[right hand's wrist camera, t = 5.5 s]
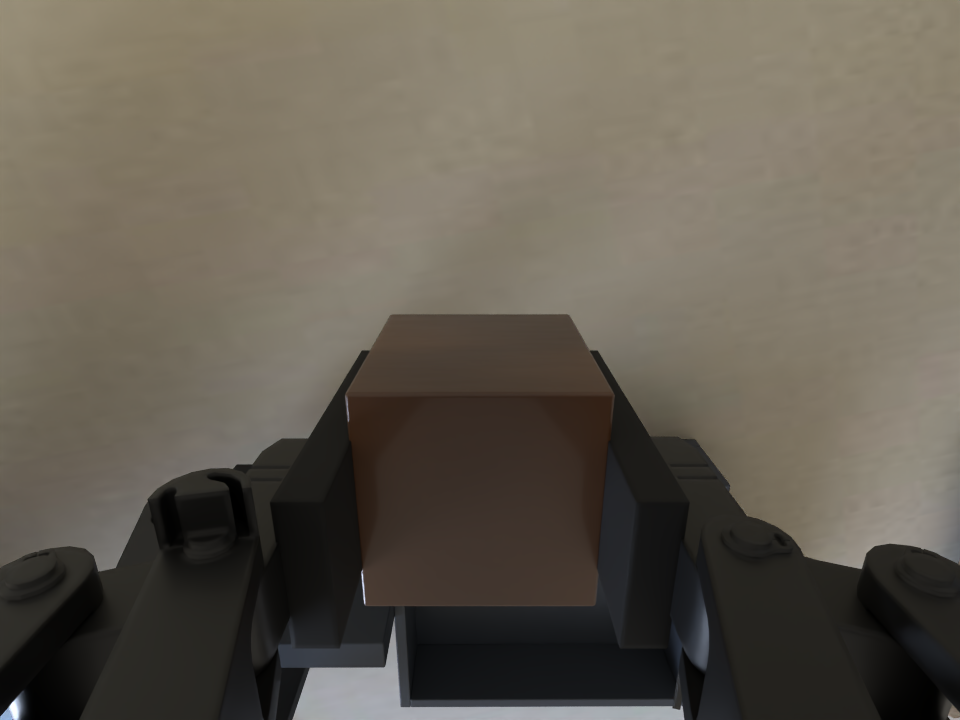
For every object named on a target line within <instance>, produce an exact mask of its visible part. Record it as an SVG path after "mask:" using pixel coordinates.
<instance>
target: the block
mask: <svg viewBox="0 0 960 720" xmlns="http://www.w3.org/2000/svg"><path fill="white" fill-rule="evenodd" d="M614 397H615V395H614V393H613V391H612V389H611V387H610V386H609V384H608V382H607V380H606V379H605V377H604V375H603V373H602V372H601V370H600V368H599V366H598V365H597V363H596V361H595V359H594V358H593V356H592V354H591V352H590V351H589V349H588V347H587V345H586V344H585V342H584V340H583V338H582V337H581V335H580V333H579V331H578V330H577V328H576V326H575V324H574V323H573V321H572V319H571V317H570V315H390V317H389V319H388V320H387V322H386V324H385V326H384V327H383V329H382V331H381V333H380V334H379V336H378V338H377V340H376V341H375V343H374V345H373V347H372V348H371V350H370V352H369V354H368V355H367V357H366V359H365V361H364V362H363V364H362V366H361V368H360V369H359V371H358V373H357V374H356V376H355V378H354V380H353V381H352V383H351V385H350V387H349V388H348V390H347V392H346V394H345V402H346V413H347V424H348V435H349V441H351V447H352V458H353V469H354V480H355V492H356V503H357V514H358V525H359V536H360V547H361V559H362V572H361V578H362V589H363V600H364V604H365V606H594V605H595V604H596V597H597V586H598V570H597V565H598V554H599V543H600V532H601V520H602V509H603V498H604V487H605V476H606V464H607V453H608V442H609V441H610V440H611V430H612V419H613V408H614Z"/></svg>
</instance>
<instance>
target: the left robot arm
mask: <svg viewBox="0 0 960 720" xmlns="http://www.w3.org/2000/svg"><path fill="white" fill-rule="evenodd" d="M251 468H252V465H236V466H235V468H234V469H233V470H237V471H242V472H243V473H244V474H246V473H247V472H248V470H249V469H251ZM159 550H160V549H159V545H158V541H157V536H156V532H155V528H154V524H153V520H152V516H151V512H150V507H149V503H148V502H147V504H146V505H145V507H144V509H143V511H142V513H141V515H140V518H139V520H138V522H137V524H136V526H135V528H134V530H133V532H132V535H131V537H130V539H129V541H128V543H127V545H126V547H125V549H124V552H123V554H122V556H121V558H120V560H119V562H118V564H117V567H116V568H120V567H124V566H129V565H134V564H139V563H143V562H147V561H150V560H154V559H155V558H156V556H157V554H158V552H159ZM281 671H282V672H281V680H280V688H279V696H278V705H277V713H276V720H292V719H293V716H294V713H295V710H296V707H297V704H298V701H299V698H300V695H301V692H302V689H303V686H304V683H305V680H306V677H307V674H308V671H309V668H281Z"/></svg>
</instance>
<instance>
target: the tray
mask: <svg viewBox="0 0 960 720" xmlns="http://www.w3.org/2000/svg"><path fill="white" fill-rule="evenodd" d="M684 441H685V442H687V443H688V444H690V445H691V446H693V447H694V448H696V449H697V450H698V451H699V452H700V454H701V455H702V456H703V458H704V459H705V460H706V462H707V463H708V467H711V468H712V470H713V471H714V472H715V474H716V475H717V479H720V480H721V482H722V483H723V484H724V486H725V487H726V489H727V490H728V491H729V489H730V484H729V483H728V482H727V480H726V479H725V478H724V477H723V475H722V474H721V473H720V471H719V470H718V469H717V468H716V466H715V465H714V464H713V462H712V461H711V460H710V458H709V457H708V456H707V455H706V453H705V452H704V451H703V449H702V448H701V447H700V445H699V444H698V443H697V441H696V440H684ZM394 616H395V631H396V646H397V661H398V676H399V690H400V705H401V707H410V706H411V707H541V706H673V700H674V693H675V687H676V681H677V675H678V669H679V663H680V656H681V650H682V643H681V641H680V639H679V636H678V634H677V631H676V629H675V627H674V624H673V622H671V629H670V636H669V642H668V649H620V648H619V644H618V641H617V637H616V634H615V630H614V627H613V623H612V620H611V616H610V612H609V609H608V605H607V602H606V598H605V595H604V591H603V588H602V584H601V581H600V577H599V574H598V586H597V597H596V604H595V605H594V606H365V604H364V600H363V589H362V578H361V576H360V579H359V583H358V586H357V590H356V593H355V597H354V600H353V604H352V607H351V611H350V614H349V618H348V621H347V625H346V629H345V632H344V636H343V639H342V643H341V646H340V649H292V645H291V638H290V632H289V625H288V624H287V626H286V628H285V631H284V633H283V636H282V638H281V640H280V643H279V645H278V650H279V656H280V663H281V668H313V667H385V665H386V659H387V654H388V648H389V643H390V637H391V632H392V626H393V621H394ZM681 706H683V703H682V701H681Z"/></svg>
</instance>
